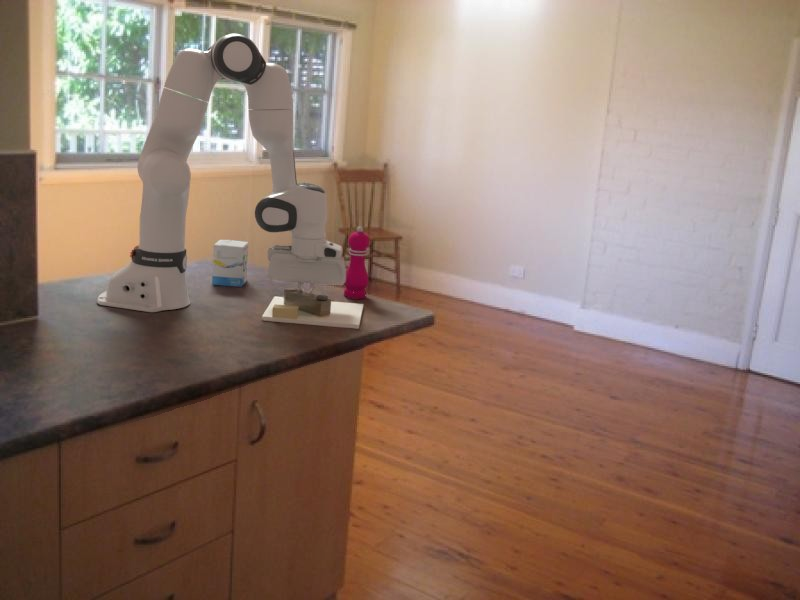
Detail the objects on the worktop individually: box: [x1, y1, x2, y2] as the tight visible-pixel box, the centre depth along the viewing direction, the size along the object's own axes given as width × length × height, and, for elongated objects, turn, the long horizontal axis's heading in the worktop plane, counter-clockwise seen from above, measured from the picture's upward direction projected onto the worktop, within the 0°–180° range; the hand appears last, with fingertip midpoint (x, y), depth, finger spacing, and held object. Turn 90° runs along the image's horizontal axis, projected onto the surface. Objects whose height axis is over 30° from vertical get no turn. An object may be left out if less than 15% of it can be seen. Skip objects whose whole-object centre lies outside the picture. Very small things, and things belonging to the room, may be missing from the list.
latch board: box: [261, 295, 364, 330], centre depth 225 cm, size 24×20×4 cm
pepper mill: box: [343, 226, 371, 300], centre depth 244 cm, size 7×7×20 cm
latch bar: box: [283, 287, 332, 316], centre depth 224 cm, size 14×4×5 cm, turn 52°
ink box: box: [211, 239, 249, 288], centre depth 248 cm, size 8×8×12 cm
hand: (306, 299), depth 229 cm, fingers closed
